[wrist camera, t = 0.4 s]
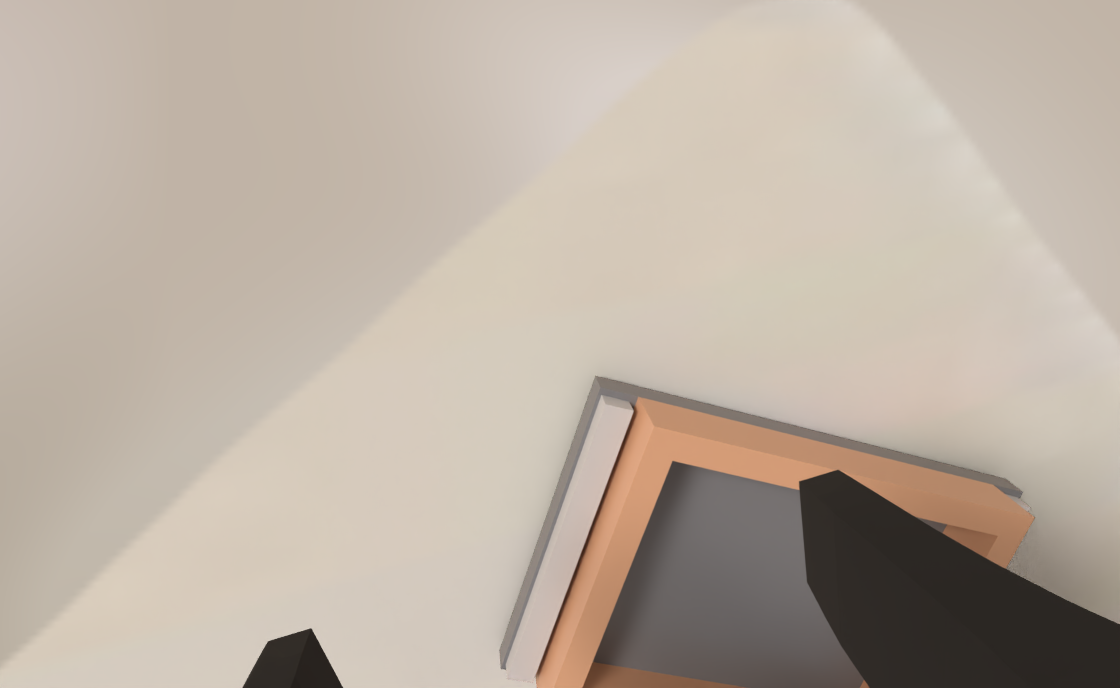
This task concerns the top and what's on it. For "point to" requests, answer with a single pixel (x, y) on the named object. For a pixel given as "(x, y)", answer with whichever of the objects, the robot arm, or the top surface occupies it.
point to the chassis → (710, 547)
